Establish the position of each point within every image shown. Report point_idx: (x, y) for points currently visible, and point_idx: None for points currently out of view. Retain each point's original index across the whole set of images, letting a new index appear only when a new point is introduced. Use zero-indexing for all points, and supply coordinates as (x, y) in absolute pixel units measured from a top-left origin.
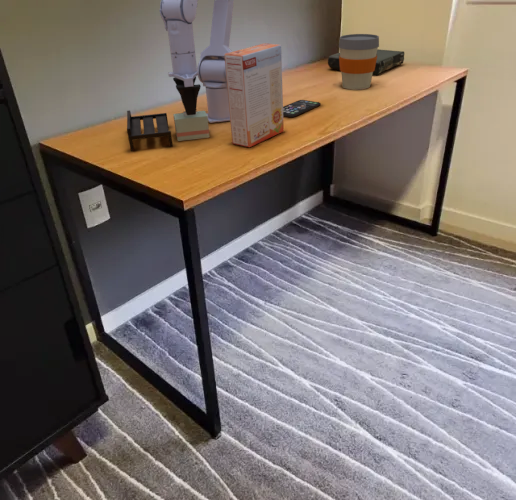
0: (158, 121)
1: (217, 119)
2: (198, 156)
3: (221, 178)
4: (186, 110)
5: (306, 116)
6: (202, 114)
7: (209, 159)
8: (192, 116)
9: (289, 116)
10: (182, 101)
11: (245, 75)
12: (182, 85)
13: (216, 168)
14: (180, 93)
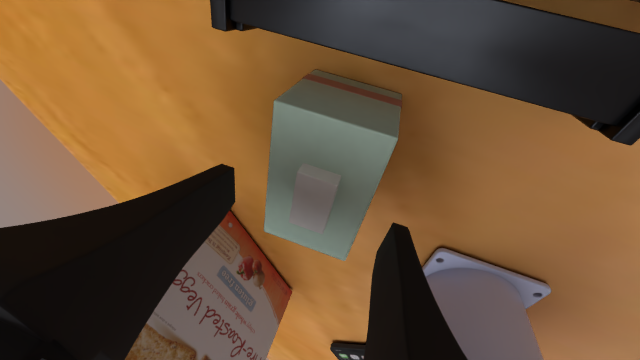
0: (497, 22)
1: (434, 273)
2: (142, 76)
3: (3, 67)
4: (198, 176)
5: (326, 352)
6: (292, 230)
7: (118, 95)
8: (283, 190)
9: (335, 343)
10: (394, 245)
11: None
12: (6, 320)
13: (59, 84)
14: (25, 228)
